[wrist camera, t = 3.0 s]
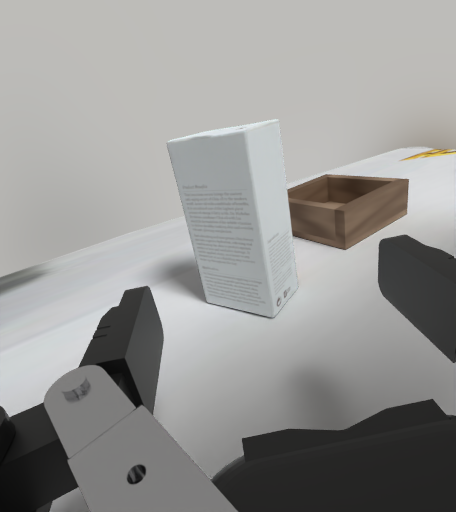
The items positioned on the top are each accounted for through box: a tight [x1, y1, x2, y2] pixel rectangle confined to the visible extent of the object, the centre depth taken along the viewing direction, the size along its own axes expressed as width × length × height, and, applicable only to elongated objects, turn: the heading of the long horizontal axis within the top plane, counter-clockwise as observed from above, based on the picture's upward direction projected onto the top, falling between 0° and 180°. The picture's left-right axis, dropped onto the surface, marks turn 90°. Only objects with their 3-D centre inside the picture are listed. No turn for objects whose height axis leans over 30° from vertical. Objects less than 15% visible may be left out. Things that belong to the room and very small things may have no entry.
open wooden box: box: [287, 174, 409, 250], centre depth 34 cm, size 10×10×4 cm
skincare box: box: [167, 119, 298, 318], centre depth 22 cm, size 6×4×12 cm
